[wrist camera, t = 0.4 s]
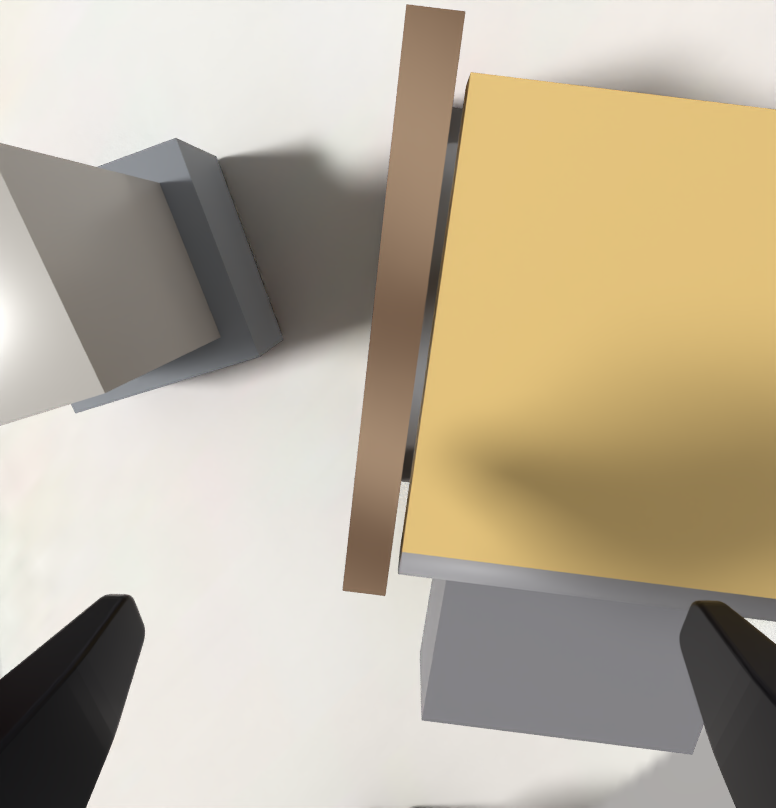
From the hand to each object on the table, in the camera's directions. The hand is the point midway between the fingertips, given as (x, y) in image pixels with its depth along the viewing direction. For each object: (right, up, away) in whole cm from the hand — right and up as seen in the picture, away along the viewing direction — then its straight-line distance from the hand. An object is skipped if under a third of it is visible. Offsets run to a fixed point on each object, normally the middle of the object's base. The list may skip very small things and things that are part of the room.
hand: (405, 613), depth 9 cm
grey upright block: (-9, +7, +9) cm, 14 cm away
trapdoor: (+6, +2, +9) cm, 11 cm away
